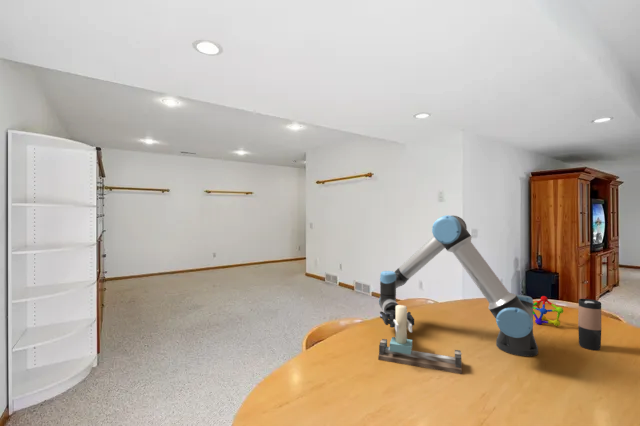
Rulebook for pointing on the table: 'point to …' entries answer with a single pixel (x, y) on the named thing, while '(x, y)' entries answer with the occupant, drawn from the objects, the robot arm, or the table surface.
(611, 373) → the table surface
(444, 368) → the rail board
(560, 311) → the educational toy
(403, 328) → the carriage
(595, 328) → the travel mug
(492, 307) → the robot arm
